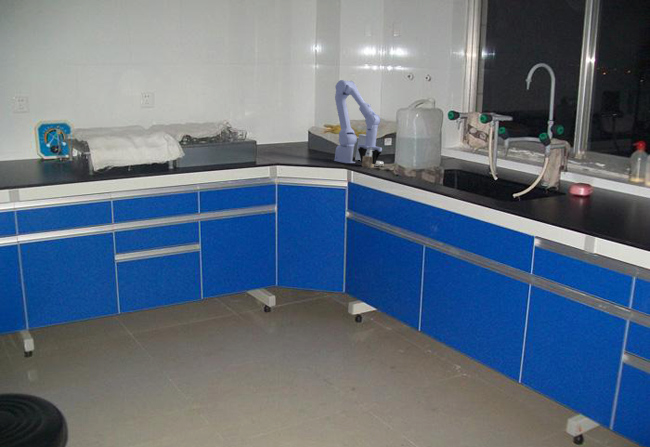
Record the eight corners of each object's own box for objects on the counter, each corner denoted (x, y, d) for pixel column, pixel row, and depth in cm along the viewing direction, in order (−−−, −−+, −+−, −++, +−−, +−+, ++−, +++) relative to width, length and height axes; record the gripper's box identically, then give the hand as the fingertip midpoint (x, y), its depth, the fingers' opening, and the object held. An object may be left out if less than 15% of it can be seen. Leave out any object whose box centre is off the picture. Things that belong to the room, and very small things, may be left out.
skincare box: (354, 160, 388) (357, 134, 384) (358, 159, 393) (361, 133, 390) (369, 162, 385) (372, 135, 382) (372, 161, 391) (375, 135, 387)
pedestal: (367, 165, 372) (368, 160, 371) (375, 164, 377) (375, 160, 377) (378, 167, 368) (378, 162, 367) (385, 166, 373) (386, 162, 372)
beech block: (361, 166, 365) (362, 156, 364) (366, 166, 368) (367, 155, 367) (368, 167, 362) (369, 157, 361) (373, 167, 366) (374, 157, 364)
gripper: (355, 135, 363) (352, 161, 366) (377, 139, 354) (374, 165, 357) (363, 135, 369) (360, 160, 372) (385, 139, 360) (382, 164, 363)
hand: (368, 162), depth 365 cm, fingers open, 7 cm apart
